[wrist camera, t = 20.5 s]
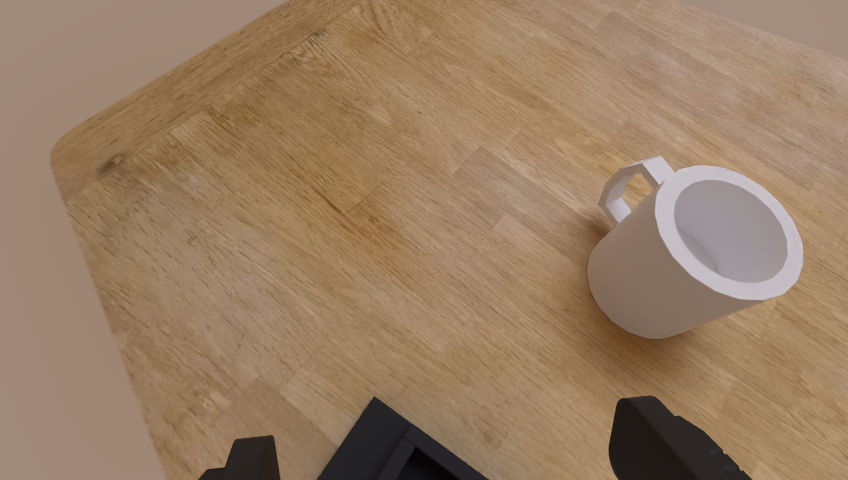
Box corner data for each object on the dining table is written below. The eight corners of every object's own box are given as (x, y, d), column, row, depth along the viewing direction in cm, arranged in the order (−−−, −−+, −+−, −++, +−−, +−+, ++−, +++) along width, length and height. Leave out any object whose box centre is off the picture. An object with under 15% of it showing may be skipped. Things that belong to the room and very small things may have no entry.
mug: (544, 225, 41) (596, 156, 31) (629, 188, 43) (700, 115, 34) (633, 359, 36) (726, 327, 26) (721, 309, 39) (835, 263, 29)
